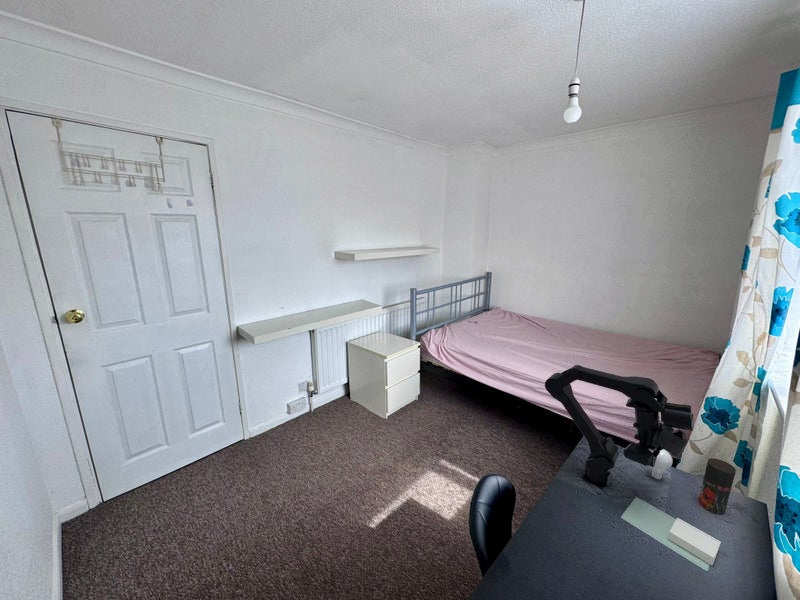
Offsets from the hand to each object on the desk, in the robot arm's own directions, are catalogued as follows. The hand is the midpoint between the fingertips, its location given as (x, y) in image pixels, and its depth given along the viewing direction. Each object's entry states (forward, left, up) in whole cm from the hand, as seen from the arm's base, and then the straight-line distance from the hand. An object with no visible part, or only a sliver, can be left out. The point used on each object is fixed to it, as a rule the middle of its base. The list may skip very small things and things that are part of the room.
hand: (651, 465), depth 99 cm
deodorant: (+13, +12, -12) cm, 22 cm away
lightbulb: (-1, +13, -12) cm, 18 cm away
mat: (+8, -8, -12) cm, 16 cm away
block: (+9, -8, -10) cm, 16 cm away
